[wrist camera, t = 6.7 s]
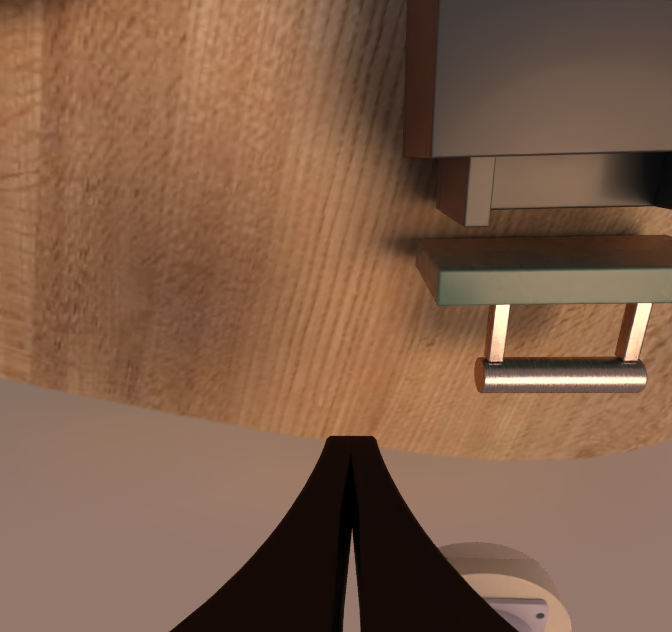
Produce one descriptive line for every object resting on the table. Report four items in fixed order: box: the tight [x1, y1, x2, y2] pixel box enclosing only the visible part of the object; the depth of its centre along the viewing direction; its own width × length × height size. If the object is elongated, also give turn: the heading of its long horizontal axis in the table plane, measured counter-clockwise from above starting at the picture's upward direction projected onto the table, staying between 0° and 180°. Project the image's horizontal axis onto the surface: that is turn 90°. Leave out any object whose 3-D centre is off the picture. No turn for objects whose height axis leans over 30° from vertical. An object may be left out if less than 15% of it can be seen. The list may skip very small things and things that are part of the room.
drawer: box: [416, 152, 672, 393], centre depth 14 cm, size 17×10×5 cm, turn 1°
